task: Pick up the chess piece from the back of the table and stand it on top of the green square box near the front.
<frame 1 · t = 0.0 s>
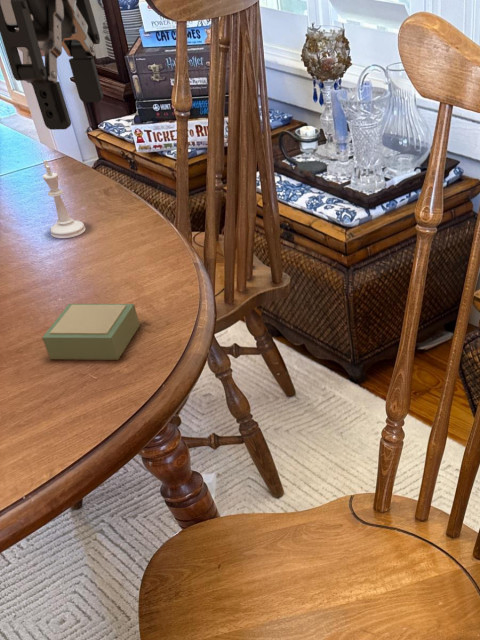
hand: (76, 114, 74), 24 cm above the table, tool pointing down, fingers open, 8 cm apart
chess piece: (69, 233, 116), on the table
green square box: (96, 341, 91), on the table
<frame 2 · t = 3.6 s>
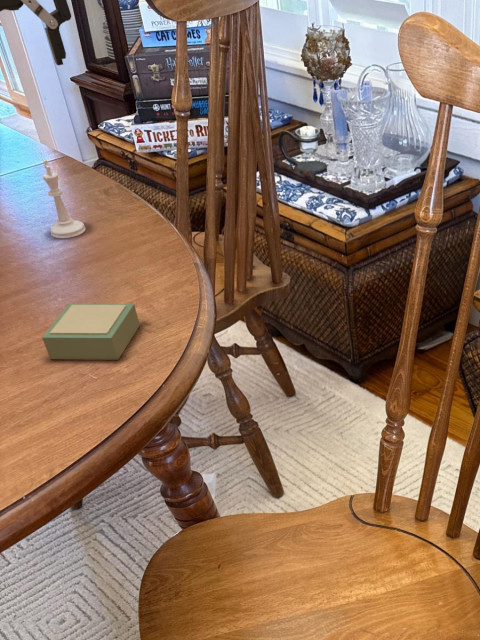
hand: (23, 69, 95), 23 cm above the table, tool pointing down, fingers open, 8 cm apart
nothing on the table moved.
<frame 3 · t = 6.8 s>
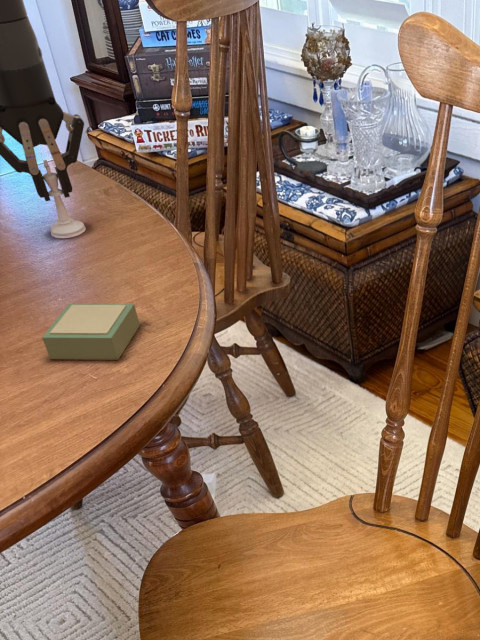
hand: (56, 197, 112), 5 cm above the table, tool pointing down, fingers closed on chess piece
chess piece: (69, 233, 116), on the table, touching gripper
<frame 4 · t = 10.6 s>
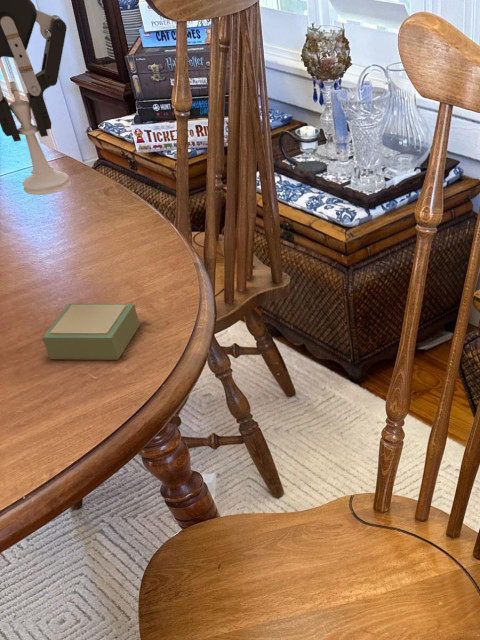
hand: (29, 136, 80), 21 cm above the table, tool pointing down, fingers closed on chess piece
chess piece: (48, 188, 84), point 16 cm above the table, touching gripper
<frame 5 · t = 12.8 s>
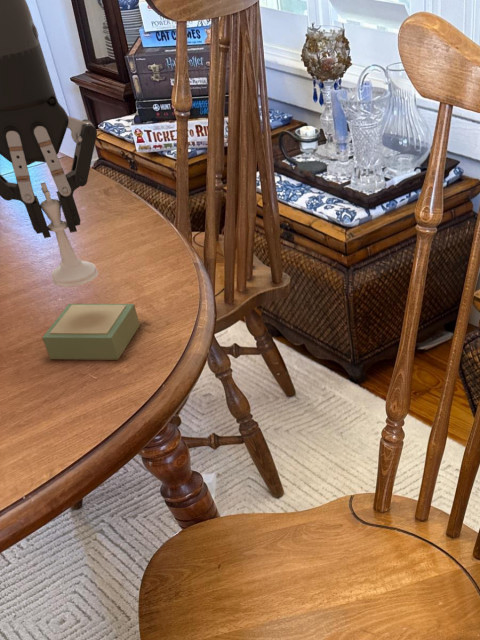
hand: (59, 231, 83), 13 cm above the table, tool pointing down, fingers closed on chess piece
chess piece: (76, 278, 86), point 8 cm above the table, touching gripper
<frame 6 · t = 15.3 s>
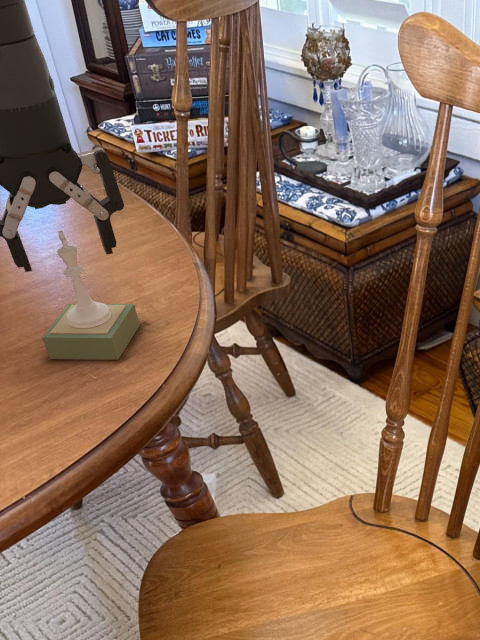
hand: (68, 260, 85), 10 cm above the table, tool pointing down, fingers open, 8 cm apart
chess piece: (90, 319, 90), point 3 cm above the table, touching green square box
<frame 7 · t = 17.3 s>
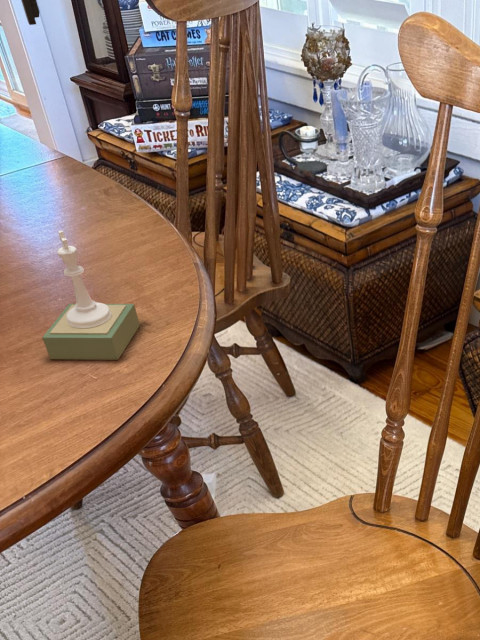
nothing on the table moved.
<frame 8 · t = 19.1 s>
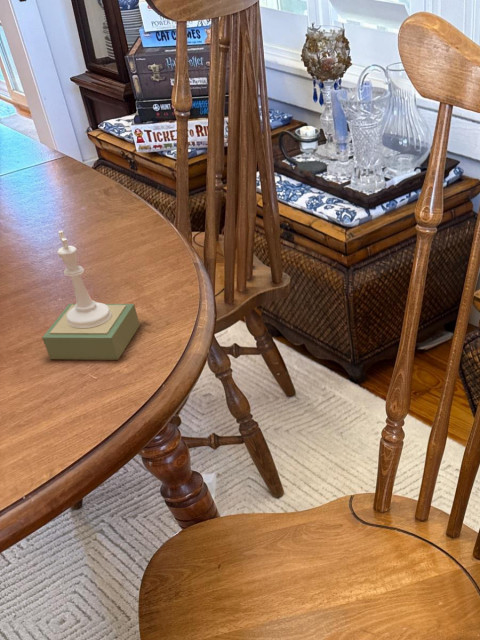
nothing on the table moved.
at the end: chess piece 0.1 cm off-centre on the green square box, point 2.8 cm above the green square box's base; chess piece tilted 0°; the gripper is holding nothing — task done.
